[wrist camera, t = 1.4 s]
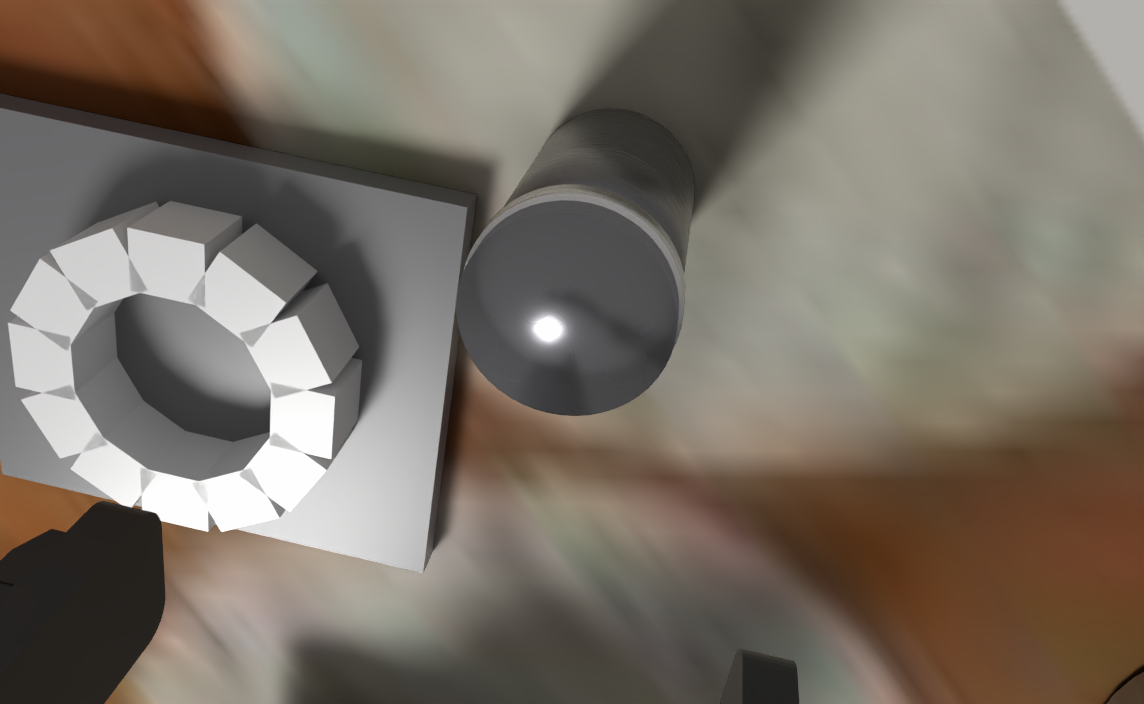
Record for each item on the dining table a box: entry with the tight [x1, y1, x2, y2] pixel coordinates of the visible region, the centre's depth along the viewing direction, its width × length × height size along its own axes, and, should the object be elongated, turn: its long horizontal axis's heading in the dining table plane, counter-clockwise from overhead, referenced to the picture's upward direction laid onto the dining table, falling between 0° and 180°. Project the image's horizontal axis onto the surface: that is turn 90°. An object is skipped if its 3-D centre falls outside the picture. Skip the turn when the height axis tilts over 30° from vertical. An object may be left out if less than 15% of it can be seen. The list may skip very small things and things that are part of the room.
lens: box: [456, 109, 695, 416], centre depth 25 cm, size 5×5×9 cm
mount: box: [0, 94, 477, 573], centre depth 32 cm, size 16×14×4 cm
